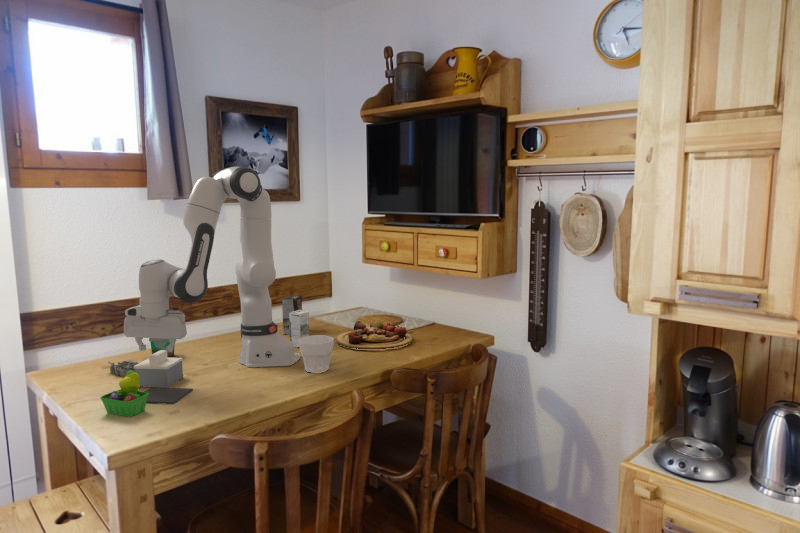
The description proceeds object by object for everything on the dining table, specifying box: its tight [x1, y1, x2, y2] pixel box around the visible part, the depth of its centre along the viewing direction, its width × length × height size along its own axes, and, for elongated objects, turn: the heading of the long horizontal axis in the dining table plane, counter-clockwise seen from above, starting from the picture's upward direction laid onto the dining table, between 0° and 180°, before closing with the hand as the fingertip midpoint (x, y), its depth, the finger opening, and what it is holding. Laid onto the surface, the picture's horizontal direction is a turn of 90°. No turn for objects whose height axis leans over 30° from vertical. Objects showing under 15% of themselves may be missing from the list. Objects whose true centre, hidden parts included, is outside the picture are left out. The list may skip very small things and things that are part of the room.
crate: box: [135, 360, 184, 388], centre depth 190 cm, size 11×10×6 cm
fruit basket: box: [99, 370, 149, 418], centre depth 164 cm, size 11×9×11 cm
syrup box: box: [289, 309, 310, 347], centre depth 232 cm, size 6×6×14 cm
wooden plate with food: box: [335, 319, 414, 349], centre depth 239 cm, size 32×32×8 cm
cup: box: [298, 334, 335, 373], centre depth 200 cm, size 12×12×11 cm
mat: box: [143, 387, 194, 405], centre depth 176 cm, size 14×12×1 cm
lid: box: [134, 350, 184, 369], centre depth 189 cm, size 11×10×5 cm
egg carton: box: [107, 359, 140, 377], centre depth 201 cm, size 11×8×4 cm
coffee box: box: [281, 295, 303, 335], centre depth 255 cm, size 9×6×16 cm
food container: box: [148, 338, 176, 358], centre depth 217 cm, size 12×6×10 cm, turn 168°
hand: (156, 350), depth 188 cm, fingers open, 8 cm apart
